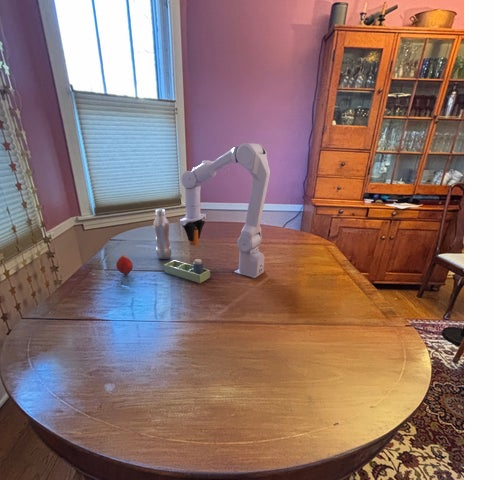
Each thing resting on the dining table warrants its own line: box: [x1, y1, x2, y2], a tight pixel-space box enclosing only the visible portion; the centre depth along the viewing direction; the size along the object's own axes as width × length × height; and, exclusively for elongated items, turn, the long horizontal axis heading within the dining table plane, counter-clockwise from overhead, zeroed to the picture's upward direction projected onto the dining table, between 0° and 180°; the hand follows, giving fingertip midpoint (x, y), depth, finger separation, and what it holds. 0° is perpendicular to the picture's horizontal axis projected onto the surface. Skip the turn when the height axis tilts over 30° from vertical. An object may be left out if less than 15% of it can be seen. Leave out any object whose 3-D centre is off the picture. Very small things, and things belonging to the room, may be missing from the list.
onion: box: [115, 254, 134, 276], centre depth 111 cm, size 6×6×8 cm
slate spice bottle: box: [192, 258, 204, 275], centre depth 109 cm, size 4×4×7 cm
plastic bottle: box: [153, 208, 172, 260], centre depth 124 cm, size 6×7×20 cm
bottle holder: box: [163, 259, 211, 284], centre depth 112 cm, size 17×6×4 cm, turn 57°
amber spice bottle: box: [189, 227, 199, 246], centre depth 122 cm, size 4×4×7 cm
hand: (194, 239), depth 123 cm, fingers closed on amber spice bottle, 3 cm apart
